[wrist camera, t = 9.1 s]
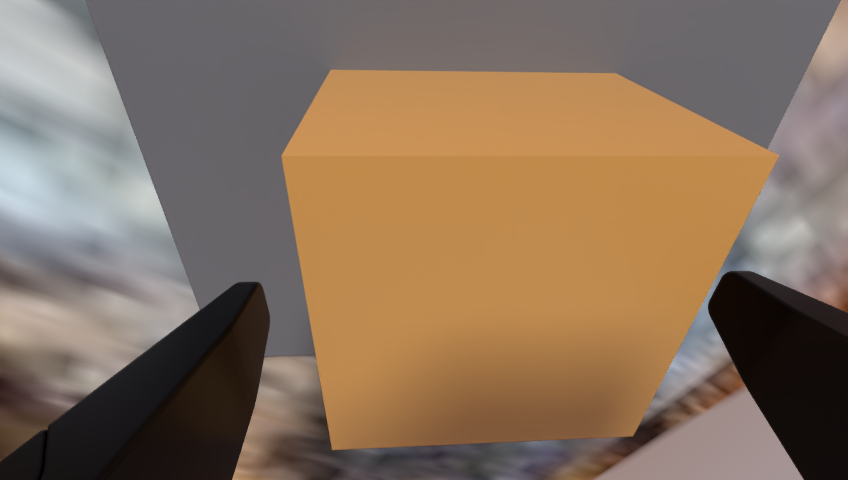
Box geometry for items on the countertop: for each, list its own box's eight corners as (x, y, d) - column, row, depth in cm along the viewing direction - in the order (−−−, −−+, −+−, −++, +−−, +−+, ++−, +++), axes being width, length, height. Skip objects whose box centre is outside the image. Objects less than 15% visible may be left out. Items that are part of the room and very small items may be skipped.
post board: (227, 336, 15) (180, 442, 12) (85, -85, 8) (-114, -115, 5) (656, 323, 16) (725, 417, 13) (831, -63, 9) (1068, -76, 6)
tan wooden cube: (351, 294, 13) (332, 449, 9) (330, 69, 9) (281, 156, 5) (558, 289, 13) (633, 436, 9) (616, 73, 10) (779, 155, 6)
